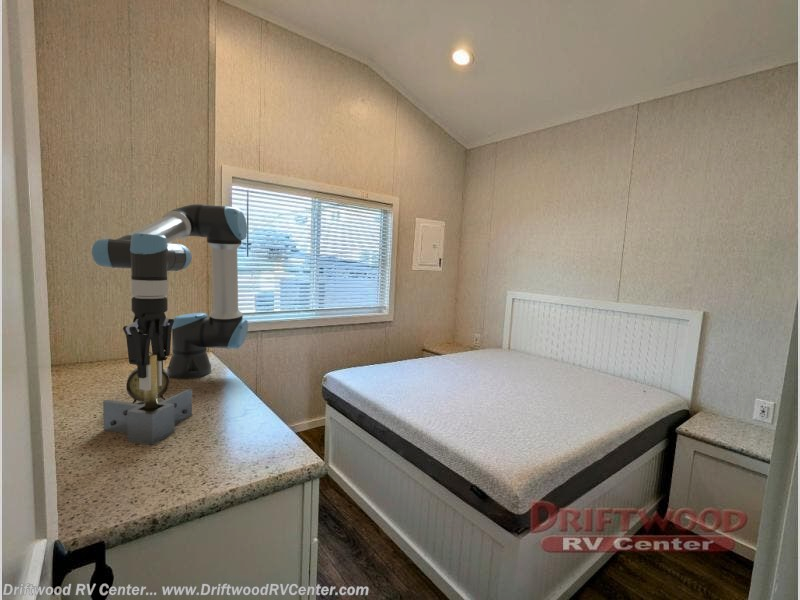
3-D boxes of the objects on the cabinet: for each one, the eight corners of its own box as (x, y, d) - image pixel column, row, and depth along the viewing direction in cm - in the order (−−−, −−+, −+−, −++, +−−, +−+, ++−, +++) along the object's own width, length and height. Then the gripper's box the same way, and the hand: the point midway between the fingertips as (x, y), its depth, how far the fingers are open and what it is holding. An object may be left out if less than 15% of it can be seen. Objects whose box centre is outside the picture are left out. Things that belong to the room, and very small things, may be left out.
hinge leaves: (149, 408, 115) (148, 383, 114) (201, 416, 112) (201, 390, 111) (93, 435, 97) (92, 405, 96) (152, 445, 94) (152, 414, 94)
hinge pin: (150, 408, 99) (150, 352, 97) (160, 409, 99) (159, 354, 97) (142, 412, 96) (141, 355, 95) (151, 414, 96) (150, 356, 94)
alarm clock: (126, 408, 114) (125, 355, 112) (127, 401, 118) (126, 351, 117) (169, 402, 120) (168, 352, 118) (168, 396, 124) (168, 348, 122)
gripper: (161, 292, 102) (162, 376, 105) (107, 298, 87) (109, 396, 90) (186, 294, 101) (186, 379, 104) (135, 301, 86) (137, 400, 88)
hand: (150, 386), depth 97 cm, fingers closed on hinge pin, 3 cm apart
